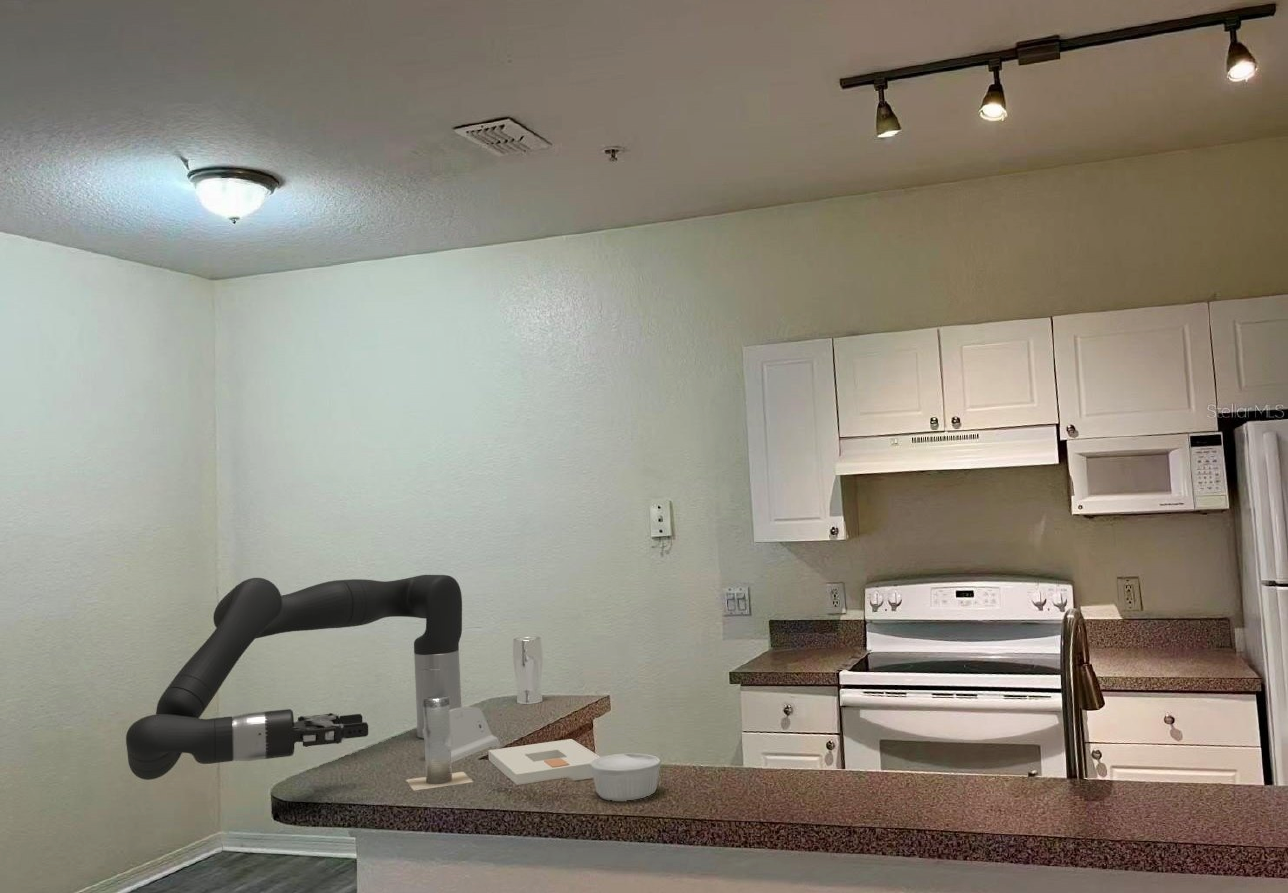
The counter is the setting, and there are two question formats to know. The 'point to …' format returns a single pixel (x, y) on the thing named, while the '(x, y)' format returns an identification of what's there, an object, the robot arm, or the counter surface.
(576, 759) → the hole plate
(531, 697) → the beer glass
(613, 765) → the ramekin
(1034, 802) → the counter surface
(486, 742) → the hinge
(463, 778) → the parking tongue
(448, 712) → the grey capped tube
